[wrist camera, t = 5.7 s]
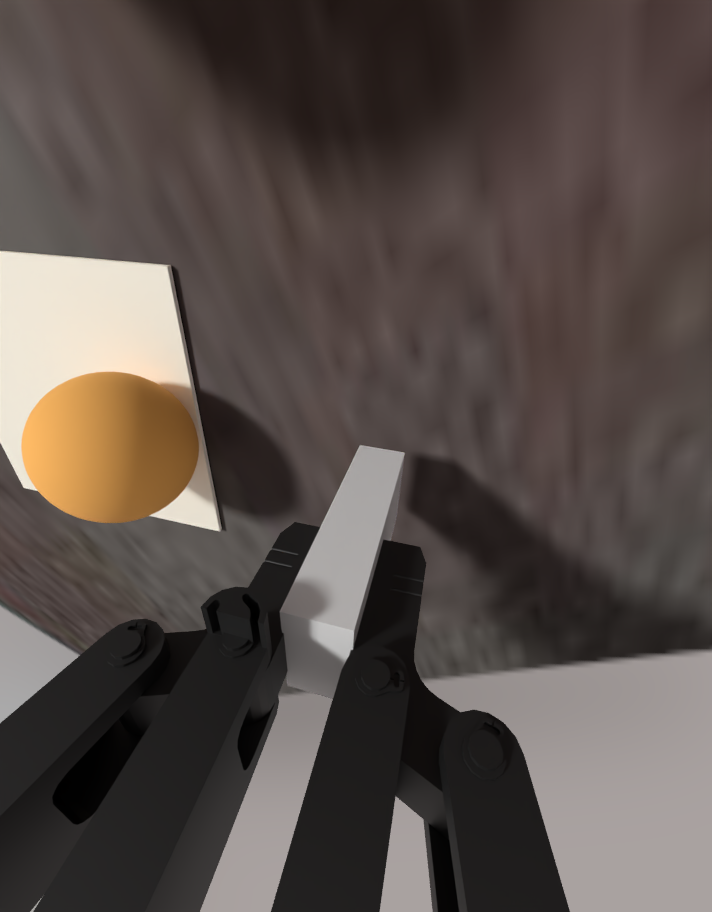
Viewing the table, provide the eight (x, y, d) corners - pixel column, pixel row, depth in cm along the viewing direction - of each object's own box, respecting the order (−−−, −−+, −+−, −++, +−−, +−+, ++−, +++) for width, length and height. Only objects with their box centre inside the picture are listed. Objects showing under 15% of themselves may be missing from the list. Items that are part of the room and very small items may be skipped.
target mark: (170, 265, 13) (167, 266, 13) (221, 528, 20) (219, 531, 20) (-98, 242, 16) (-104, 242, 15) (27, 485, 22) (24, 487, 22)
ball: (64, 347, 15) (206, 353, 15) (107, 463, 18) (225, 469, 18) (-64, 410, 11) (138, 420, 11) (21, 552, 14) (178, 559, 14)
